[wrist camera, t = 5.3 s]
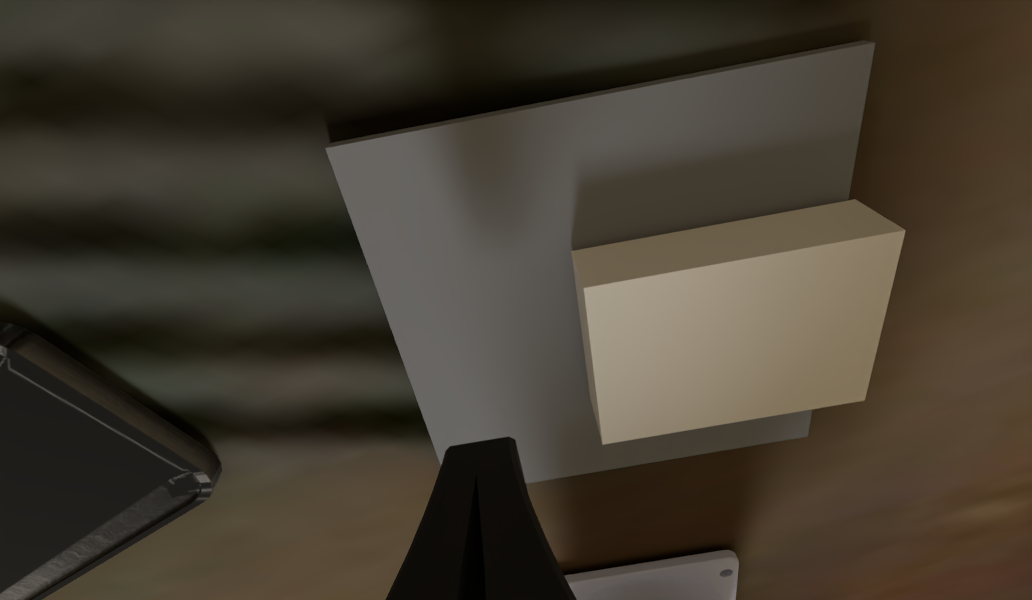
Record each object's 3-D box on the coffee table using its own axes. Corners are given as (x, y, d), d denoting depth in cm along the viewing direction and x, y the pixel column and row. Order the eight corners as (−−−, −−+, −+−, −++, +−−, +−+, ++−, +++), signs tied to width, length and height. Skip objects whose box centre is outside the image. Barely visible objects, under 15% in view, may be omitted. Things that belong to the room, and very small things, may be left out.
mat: (801, 428, 18) (807, 436, 18) (452, 486, 18) (451, 496, 18) (864, 40, 12) (875, 42, 11) (329, 143, 12) (325, 148, 12)
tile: (589, 394, 16) (822, 353, 16) (602, 445, 14) (864, 400, 14) (569, 247, 13) (850, 196, 13) (583, 288, 12) (905, 230, 12)
